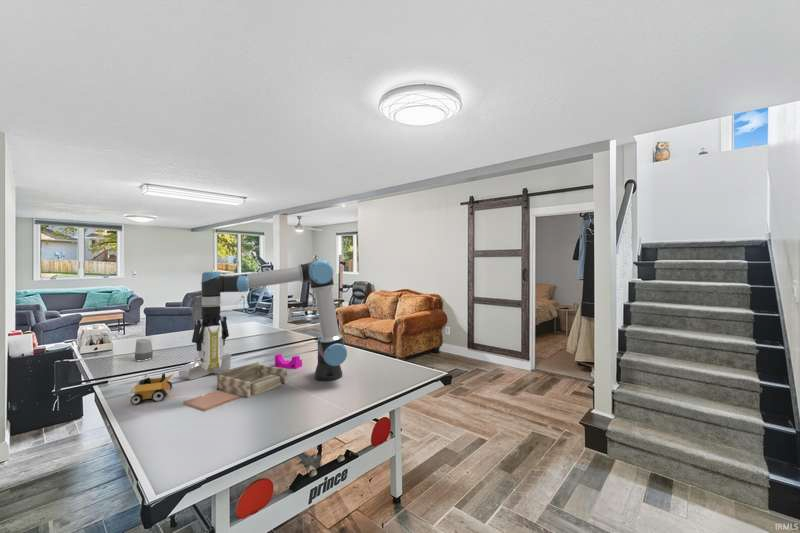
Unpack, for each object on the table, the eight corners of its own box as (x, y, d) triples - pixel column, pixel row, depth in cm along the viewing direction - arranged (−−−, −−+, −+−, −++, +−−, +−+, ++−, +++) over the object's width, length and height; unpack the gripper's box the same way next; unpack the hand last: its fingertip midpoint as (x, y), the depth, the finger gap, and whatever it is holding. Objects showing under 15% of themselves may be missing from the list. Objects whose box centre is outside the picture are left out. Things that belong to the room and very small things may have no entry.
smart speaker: (145, 362, 219) (145, 340, 220) (131, 362, 220) (131, 340, 220) (156, 358, 229) (156, 337, 229) (142, 358, 229) (142, 337, 229)
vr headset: (205, 373, 195) (202, 353, 196) (214, 373, 191) (211, 353, 191) (179, 381, 183) (176, 360, 184) (188, 381, 178) (185, 359, 179)
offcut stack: (281, 385, 177) (281, 376, 177) (255, 396, 162) (255, 385, 162) (271, 383, 180) (271, 374, 180) (245, 393, 166) (245, 383, 166)
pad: (238, 398, 159) (238, 396, 159) (205, 411, 145) (204, 408, 145) (217, 392, 166) (217, 390, 166) (183, 403, 152) (183, 401, 152)
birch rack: (287, 382, 180) (286, 367, 180) (248, 397, 159) (248, 380, 159) (257, 376, 191) (256, 361, 191) (217, 389, 170) (217, 373, 170)
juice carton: (217, 363, 161) (217, 323, 161) (223, 367, 155) (223, 325, 155) (199, 367, 156) (199, 325, 156) (204, 371, 150) (204, 327, 150)
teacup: (241, 368, 201) (238, 351, 201) (225, 377, 186) (223, 359, 186) (222, 370, 202) (219, 353, 202) (205, 379, 187) (202, 361, 187)
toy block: (302, 367, 209) (302, 354, 209) (295, 370, 203) (295, 357, 203) (281, 364, 214) (281, 352, 214) (274, 367, 208) (274, 355, 208)
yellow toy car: (138, 394, 165) (138, 372, 165) (175, 390, 171) (175, 368, 171) (128, 406, 151) (128, 382, 151) (168, 400, 157) (168, 377, 157)
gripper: (227, 303, 167) (227, 349, 167) (181, 307, 148) (181, 360, 148) (237, 303, 163) (237, 351, 163) (192, 308, 144) (192, 362, 144)
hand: (211, 355), depth 156 cm, fingers closed on juice carton, 9 cm apart
